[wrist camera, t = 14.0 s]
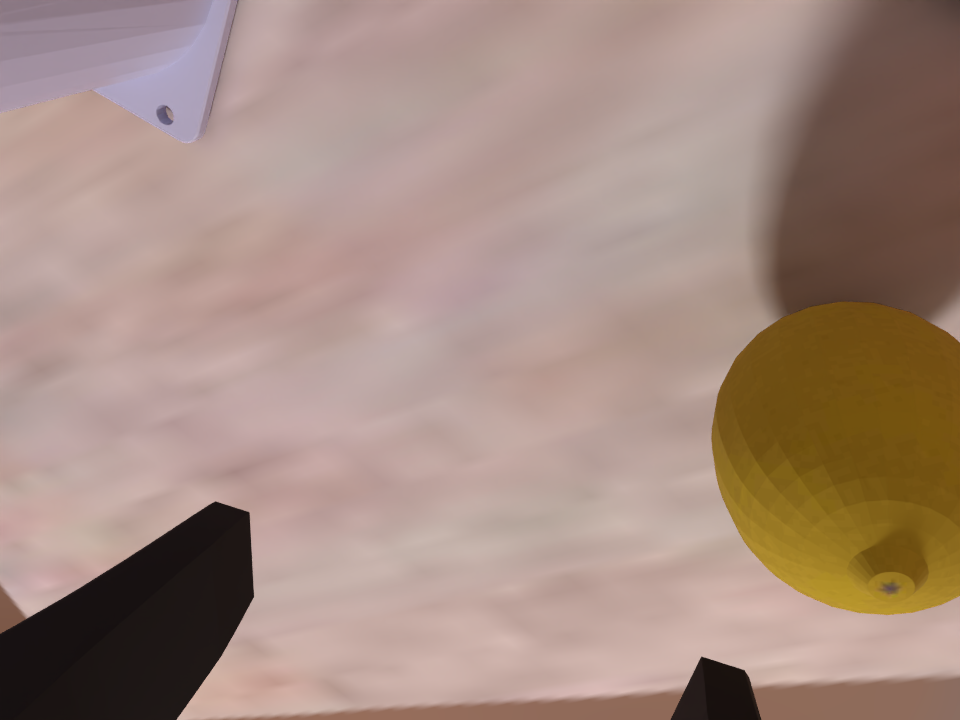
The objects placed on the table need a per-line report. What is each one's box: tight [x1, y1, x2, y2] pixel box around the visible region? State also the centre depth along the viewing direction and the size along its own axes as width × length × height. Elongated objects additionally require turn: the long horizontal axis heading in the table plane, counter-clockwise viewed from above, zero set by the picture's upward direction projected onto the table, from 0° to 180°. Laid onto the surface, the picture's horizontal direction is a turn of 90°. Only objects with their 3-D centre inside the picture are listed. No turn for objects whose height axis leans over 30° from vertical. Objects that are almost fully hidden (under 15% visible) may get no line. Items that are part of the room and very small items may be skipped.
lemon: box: [711, 302, 960, 615], centre depth 15 cm, size 6×6×8 cm
